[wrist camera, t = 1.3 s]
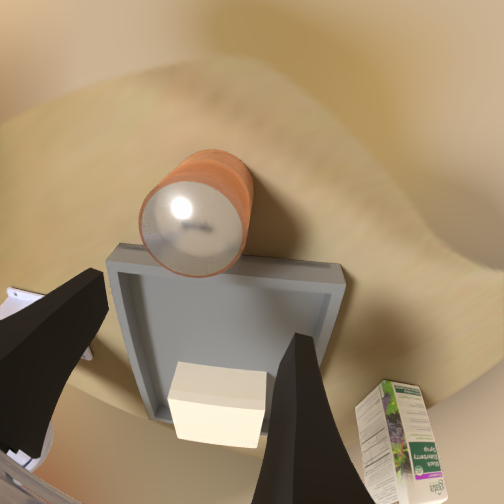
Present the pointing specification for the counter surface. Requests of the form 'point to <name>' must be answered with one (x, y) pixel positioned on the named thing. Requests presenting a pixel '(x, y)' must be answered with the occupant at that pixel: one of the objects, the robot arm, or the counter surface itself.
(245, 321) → the tray
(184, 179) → the tin can
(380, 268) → the counter surface
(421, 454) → the syrup box
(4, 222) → the counter surface
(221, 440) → the plain cream box
